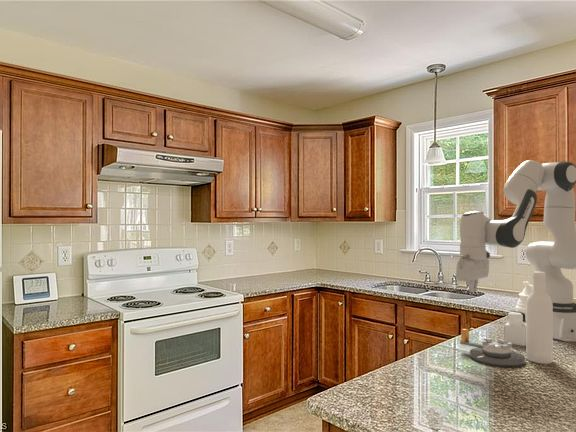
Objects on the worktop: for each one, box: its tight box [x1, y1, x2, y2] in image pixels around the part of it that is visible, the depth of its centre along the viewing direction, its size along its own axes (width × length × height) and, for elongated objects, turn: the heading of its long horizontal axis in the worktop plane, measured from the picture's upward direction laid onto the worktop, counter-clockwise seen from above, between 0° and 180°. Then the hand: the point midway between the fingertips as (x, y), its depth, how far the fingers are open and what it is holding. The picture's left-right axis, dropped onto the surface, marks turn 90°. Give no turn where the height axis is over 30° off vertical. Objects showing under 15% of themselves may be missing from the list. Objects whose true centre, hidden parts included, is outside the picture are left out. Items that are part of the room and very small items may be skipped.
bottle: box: [525, 271, 554, 365], centre depth 147 cm, size 8×8×30 cm
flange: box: [469, 347, 526, 368], centre depth 148 cm, size 17×17×2 cm
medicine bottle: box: [503, 310, 526, 347], centre depth 168 cm, size 7×7×12 cm
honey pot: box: [515, 280, 533, 322], centre depth 209 cm, size 13×13×18 cm
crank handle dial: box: [459, 328, 513, 358], centre depth 151 cm, size 17×9×6 cm, turn 43°
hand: (472, 291), depth 160 cm, fingers closed
